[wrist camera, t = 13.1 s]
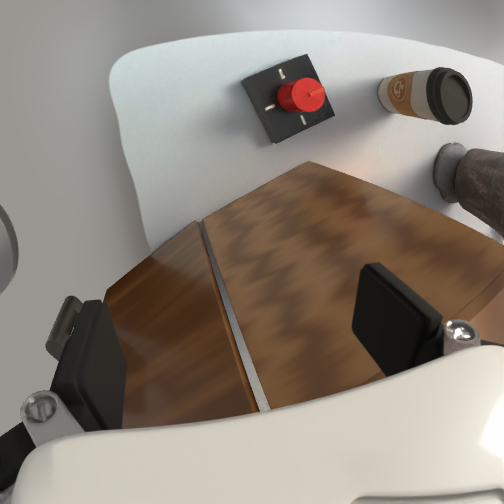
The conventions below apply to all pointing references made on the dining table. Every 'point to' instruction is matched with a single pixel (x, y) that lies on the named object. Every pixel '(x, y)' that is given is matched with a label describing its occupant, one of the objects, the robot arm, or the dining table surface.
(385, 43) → the dining table surface
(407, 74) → the coffee cup
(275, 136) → the valve panel
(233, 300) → the cupboard
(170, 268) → the cupboard door
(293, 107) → the valve knob
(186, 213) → the dining table surface
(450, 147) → the vase
